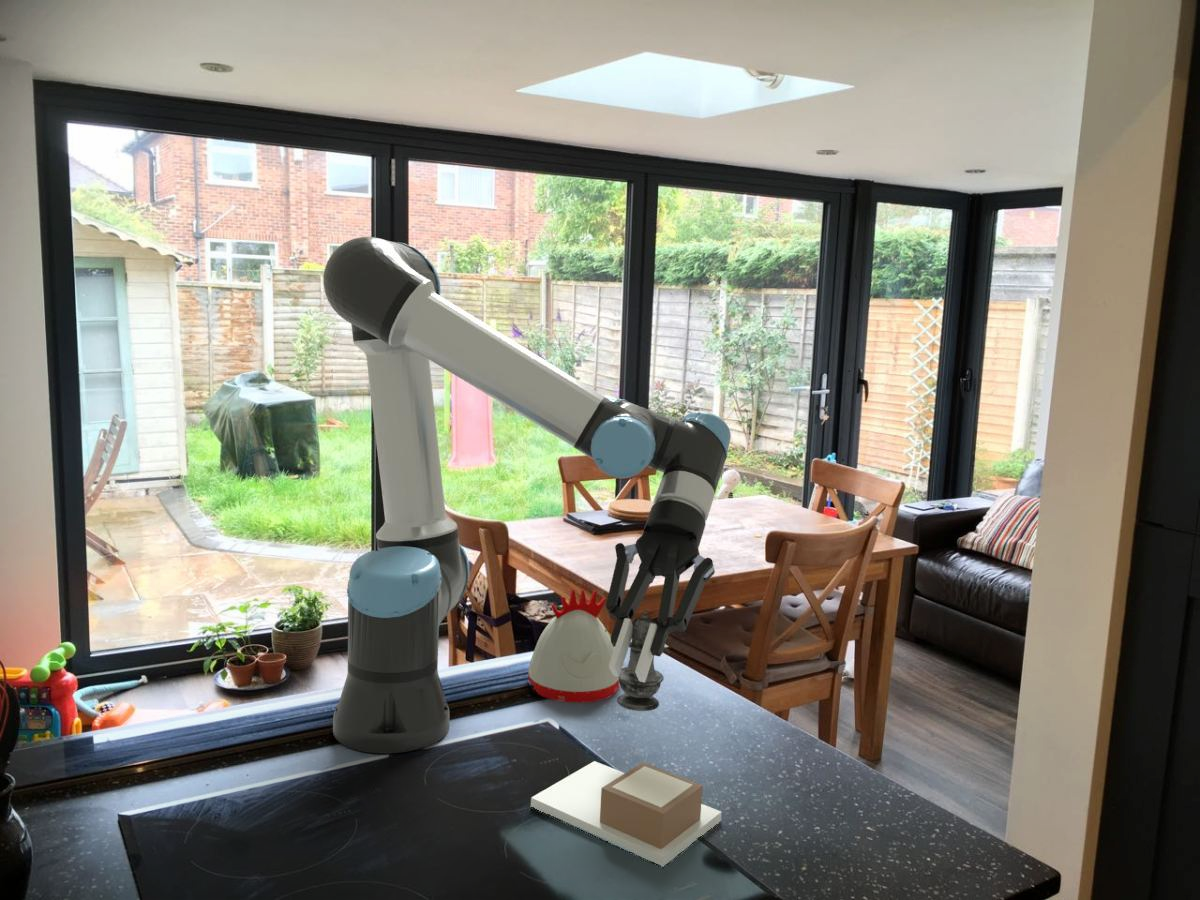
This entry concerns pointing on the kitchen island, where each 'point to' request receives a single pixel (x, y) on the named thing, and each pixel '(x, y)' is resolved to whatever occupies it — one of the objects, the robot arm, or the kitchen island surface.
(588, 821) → the build board
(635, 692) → the salt shaker
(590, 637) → the kitchen timer
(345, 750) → the kitchen island surface
